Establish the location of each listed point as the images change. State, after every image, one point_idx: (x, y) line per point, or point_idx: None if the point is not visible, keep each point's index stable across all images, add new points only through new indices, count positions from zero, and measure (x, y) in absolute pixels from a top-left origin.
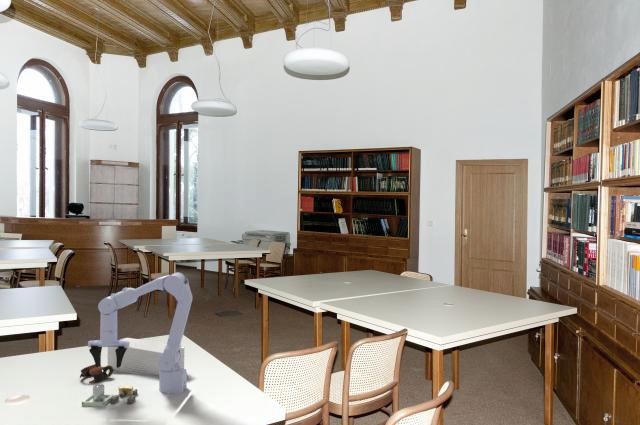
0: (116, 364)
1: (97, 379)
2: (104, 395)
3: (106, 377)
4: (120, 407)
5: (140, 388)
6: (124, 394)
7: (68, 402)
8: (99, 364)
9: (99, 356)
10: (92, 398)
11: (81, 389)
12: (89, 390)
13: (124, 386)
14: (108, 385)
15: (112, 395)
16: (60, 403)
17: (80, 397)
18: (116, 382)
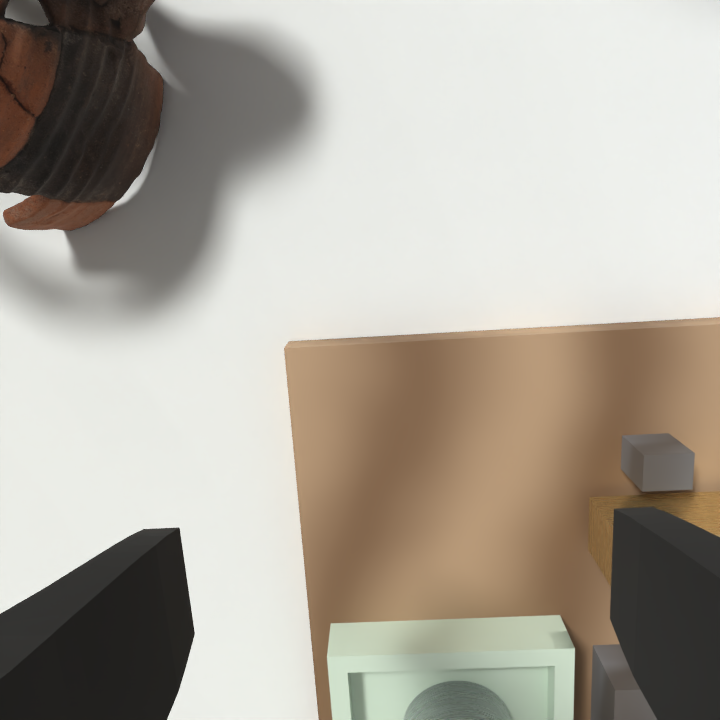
0: (642, 691)
1: (81, 167)
2: (479, 664)
3: (140, 25)
4: None
5: (707, 197)
6: None
7: None
8: (171, 583)
9: (68, 710)
10: (364, 684)
11: (12, 313)
12: (122, 332)
13: None
14: (250, 144)
15: (574, 668)
16: None
17: (154, 522)
18: (296, 17)
